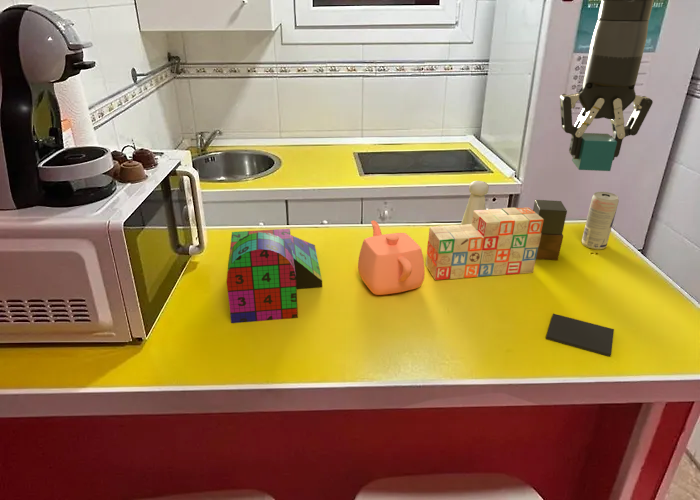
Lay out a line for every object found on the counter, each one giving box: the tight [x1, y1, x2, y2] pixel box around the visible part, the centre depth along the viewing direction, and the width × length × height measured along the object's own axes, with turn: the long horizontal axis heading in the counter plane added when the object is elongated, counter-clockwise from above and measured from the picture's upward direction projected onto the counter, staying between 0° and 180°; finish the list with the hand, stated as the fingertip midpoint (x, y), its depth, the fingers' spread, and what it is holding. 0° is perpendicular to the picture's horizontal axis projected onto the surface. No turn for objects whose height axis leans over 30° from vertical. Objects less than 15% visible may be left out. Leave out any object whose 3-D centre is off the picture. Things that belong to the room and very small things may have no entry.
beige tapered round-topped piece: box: [460, 180, 489, 225], centre depth 120 cm, size 6×6×13 cm
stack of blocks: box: [425, 207, 544, 281], centre depth 105 cm, size 21×6×12 cm, turn 100°
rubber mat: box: [545, 313, 615, 358], centre depth 88 cm, size 10×8×1 cm
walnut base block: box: [535, 233, 564, 261], centre depth 113 cm, size 6×6×6 cm
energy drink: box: [581, 191, 619, 251], centre depth 116 cm, size 5×5×12 cm
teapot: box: [357, 219, 426, 296], centre depth 101 cm, size 11×18×10 cm, turn 19°
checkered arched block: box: [226, 228, 323, 324], centre depth 99 cm, size 25×17×14 cm
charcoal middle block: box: [532, 199, 568, 235], centre depth 111 cm, size 6×6×6 cm
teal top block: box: [571, 132, 617, 172], centre depth 87 cm, size 5×5×5 cm
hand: (592, 157), depth 88 cm, fingers closed on teal top block, 5 cm apart
